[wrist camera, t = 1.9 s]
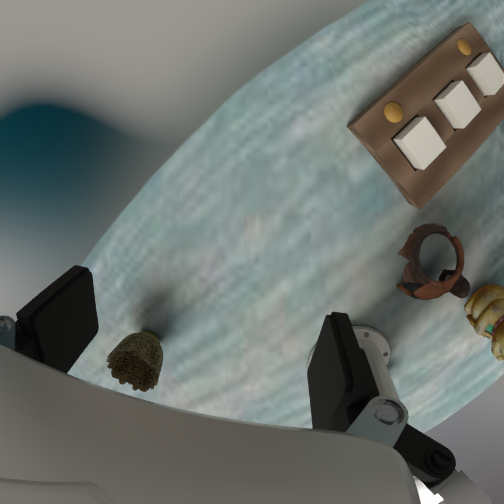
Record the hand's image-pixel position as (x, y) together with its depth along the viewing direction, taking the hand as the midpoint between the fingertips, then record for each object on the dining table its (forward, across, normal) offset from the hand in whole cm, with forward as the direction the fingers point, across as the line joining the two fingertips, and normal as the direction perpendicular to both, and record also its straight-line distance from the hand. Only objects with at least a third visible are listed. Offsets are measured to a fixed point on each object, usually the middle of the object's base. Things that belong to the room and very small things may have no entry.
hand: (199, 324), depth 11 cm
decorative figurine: (+25, -38, +8) cm, 46 cm away
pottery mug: (+25, -24, +4) cm, 35 cm away
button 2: (+22, -17, -10) cm, 30 cm away
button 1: (+22, -26, -22) cm, 41 cm away
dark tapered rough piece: (+25, +12, +23) cm, 36 cm away
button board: (+24, -21, -16) cm, 36 cm away
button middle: (+22, -21, -16) cm, 35 cm away
